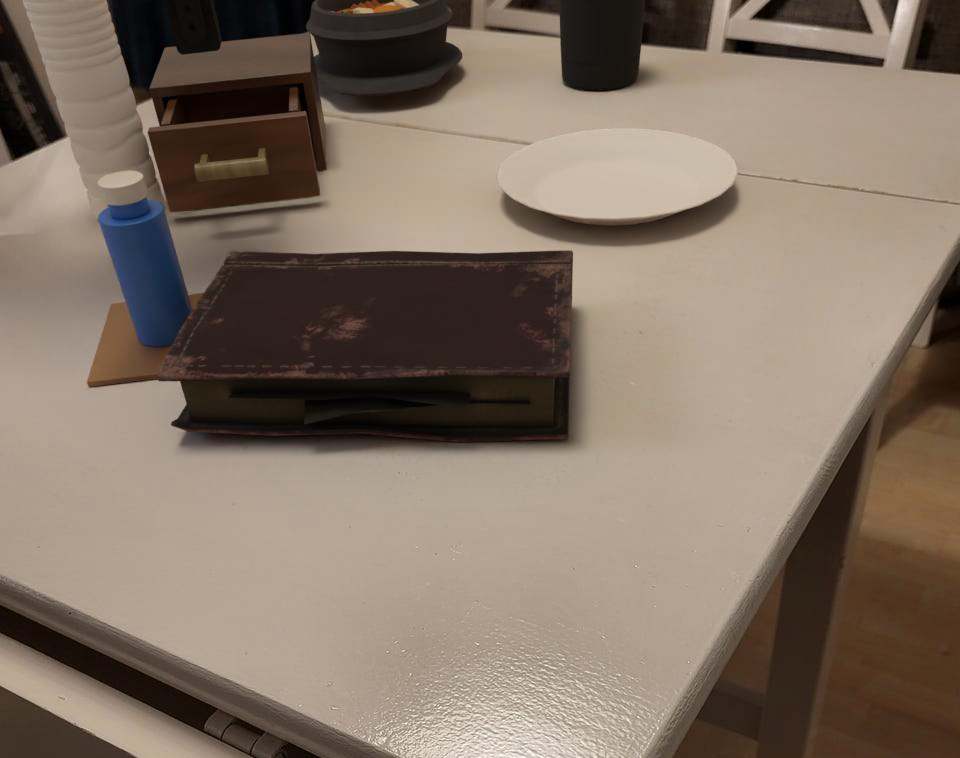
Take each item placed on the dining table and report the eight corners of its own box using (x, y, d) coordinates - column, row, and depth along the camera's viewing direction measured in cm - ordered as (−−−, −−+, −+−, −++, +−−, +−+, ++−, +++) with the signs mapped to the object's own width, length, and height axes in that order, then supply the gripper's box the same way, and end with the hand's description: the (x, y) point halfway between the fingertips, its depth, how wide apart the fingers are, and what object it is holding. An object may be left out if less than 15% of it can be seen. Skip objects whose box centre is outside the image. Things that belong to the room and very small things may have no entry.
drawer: (320, 214, 85) (306, 131, 80) (165, 231, 85) (141, 148, 80) (318, 148, 97) (306, 72, 93) (182, 163, 97) (162, 87, 92)
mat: (88, 387, 68) (86, 382, 68) (112, 308, 77) (111, 303, 76) (231, 370, 69) (230, 365, 68) (239, 293, 77) (238, 288, 77)
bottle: (134, 350, 71) (81, 195, 63) (141, 322, 74) (92, 170, 66) (195, 343, 71) (149, 187, 63) (199, 315, 74) (157, 163, 66)
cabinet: (326, 169, 96) (310, 71, 89) (175, 186, 95) (149, 88, 89) (324, 123, 105) (310, 32, 99) (187, 138, 105) (164, 47, 99)
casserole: (472, 104, 107) (467, 17, 101) (304, 119, 107) (289, 33, 101) (456, 43, 125) (451, -34, 119) (312, 56, 125) (299, -20, 119)
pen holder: (645, 90, 107) (651, -15, 100) (560, 95, 108) (560, -10, 101) (637, 65, 114) (642, -35, 107) (557, 69, 114) (557, -30, 107)
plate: (771, 173, 88) (775, 147, 87) (667, 265, 76) (669, 237, 75) (573, 140, 97) (573, 116, 96) (452, 217, 85) (450, 191, 84)
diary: (245, 305, 75) (231, 242, 71) (571, 306, 73) (573, 240, 69) (171, 446, 61) (149, 376, 58) (567, 451, 59) (570, 379, 56)
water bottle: (167, 194, 93) (77, -129, 76) (163, 220, 89) (65, -117, 71) (75, 205, 93) (-38, -118, 75) (65, 233, 88) (-57, -105, 71)
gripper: (78, -281, 65) (161, 30, 77) (33, -275, 54) (137, 85, 67) (191, -293, 65) (254, 19, 78) (168, -288, 54) (246, 72, 67)
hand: (200, 49), depth 72 cm, fingers closed
